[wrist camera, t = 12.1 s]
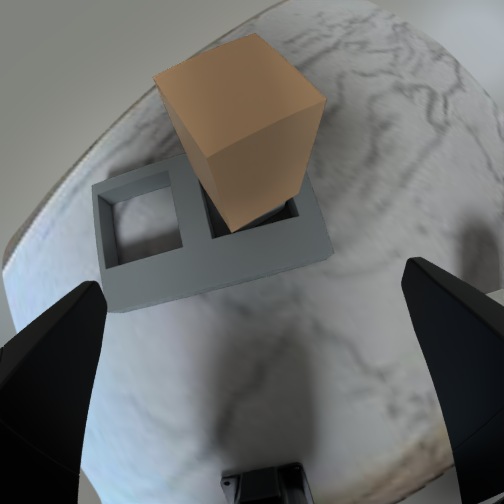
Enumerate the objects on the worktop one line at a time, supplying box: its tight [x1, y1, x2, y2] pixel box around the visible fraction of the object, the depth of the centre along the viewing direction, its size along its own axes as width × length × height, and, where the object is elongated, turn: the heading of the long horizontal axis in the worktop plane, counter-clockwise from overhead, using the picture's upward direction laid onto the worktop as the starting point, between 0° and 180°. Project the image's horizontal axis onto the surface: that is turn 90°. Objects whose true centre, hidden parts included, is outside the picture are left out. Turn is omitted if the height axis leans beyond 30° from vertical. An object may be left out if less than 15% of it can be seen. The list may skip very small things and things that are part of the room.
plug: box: [153, 33, 327, 233], centre depth 16 cm, size 5×5×13 cm
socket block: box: [92, 153, 334, 313], centre depth 21 cm, size 10×16×2 cm, turn 105°
